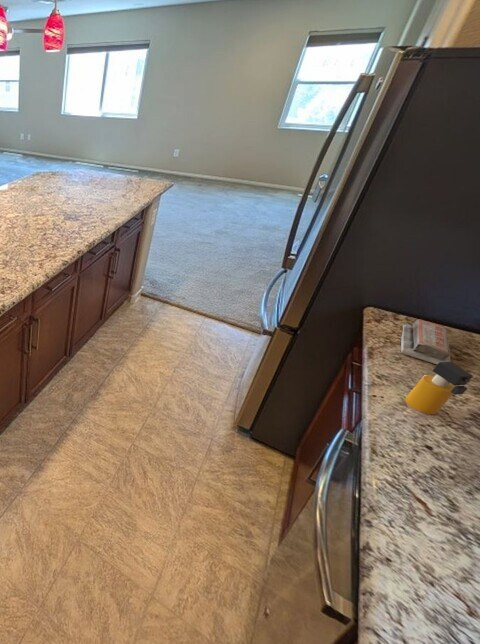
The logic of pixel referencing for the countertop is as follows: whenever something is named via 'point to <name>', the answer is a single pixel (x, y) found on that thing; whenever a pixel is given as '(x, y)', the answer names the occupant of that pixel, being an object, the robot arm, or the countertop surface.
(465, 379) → the spray bottle
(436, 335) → the packaged product
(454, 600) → the countertop surface
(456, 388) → the trigger
